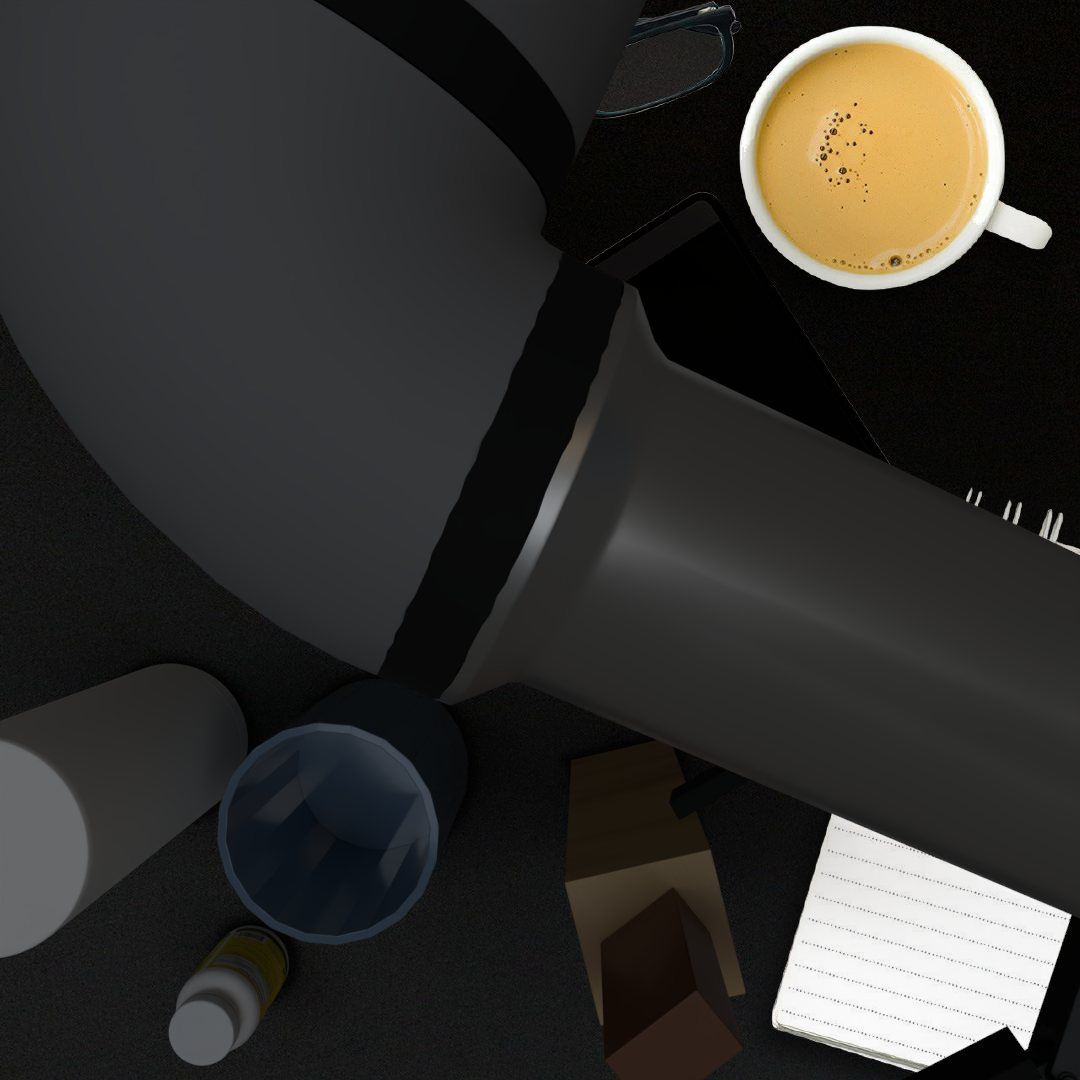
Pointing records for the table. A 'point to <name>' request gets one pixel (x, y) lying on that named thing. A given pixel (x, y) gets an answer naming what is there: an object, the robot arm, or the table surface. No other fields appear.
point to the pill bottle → (228, 995)
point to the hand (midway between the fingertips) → (767, 963)
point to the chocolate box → (665, 997)
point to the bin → (344, 812)
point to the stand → (637, 854)
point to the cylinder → (105, 788)
